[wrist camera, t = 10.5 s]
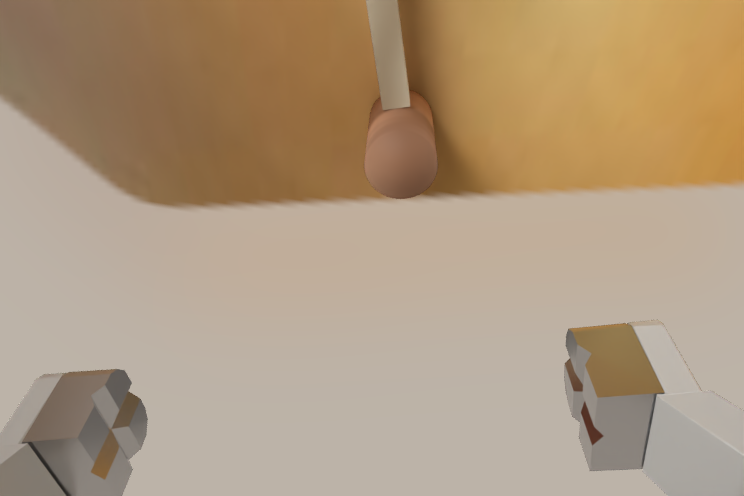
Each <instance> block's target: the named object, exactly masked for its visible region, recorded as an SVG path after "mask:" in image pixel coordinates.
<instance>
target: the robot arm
mask: <svg viewBox="0 0 744 496" xmlns="http://www.w3.org/2000/svg"><path fill="white" fill-rule="evenodd" d="M566 347H567V350H568V353H569V356H570V359H569V360H568V361H567V362H566V363H565V374H564V375H565V376H564V378H565V388H566V395H567V399H568V404H569V407H570V411H571V414H572V417H574V418H575V419H576V420H578V421H579V422H580V431H579V439H580V442H581V445H582V448H583V451H584V454H585V457H586V460H587V463H588V466H589V469H590V471H601V470H628V469H643V473H645V474H646V475H647V476H648V477H649V478H650V479H651V480H652V481H653V482H654V483H655V484H656V485H657V486H658V487H659V488H660V489H661V490H662V491H663V492H664V493H666V494H667V495H668V496H744V410H742V409H740V408H739V407H737V406H736V405H734V404H732V403H731V402H729V401H728V400H726V399H724V398H723V397H721V396H719V395H718V394H716V393H715V392H713V391H702V390H701V388H700V387H699V385H698V383H697V382H696V380H695V378H694V376H693V375H692V373H691V371H690V369H689V368H688V366H687V364H686V362H685V361H684V359H683V357H682V355H681V354H680V352H679V350H678V349H677V347H676V345H675V343H674V342H673V340H672V338H671V336H670V335H669V333H668V331H667V329H666V328H665V326H664V324H663V323H662V322H660V321H659V320H651V321H641V322H631V323H627V324H626V323H623V324H614V325H603V326H593V327H582V328H571V329H568V332H567V336H566ZM131 384H132V383H131V380H130V379H129V377H128V375H127V374H126V372H125V371H124V370H119V369H111V370H95V371H81V372H68V373H57V374H44V375H42V376H40V377H39V378H37V379H36V380H35V381H34V383H33V384H32V386H31V387H30V389H29V390H28V392H27V394H26V395H25V396H24V398H23V400H22V401H21V402H20V404H19V406H18V407H17V409H16V410H15V412H14V413H13V415H12V416H11V418H10V419H9V421H8V422H7V424H6V425H5V427H4V428H3V430H2V432H1V433H0V496H122V494H123V492H124V489H125V487H126V485H127V482H128V480H129V477H130V475H131V472H132V470H133V469H132V466H131V464H130V461H129V459H130V458H131V457H132V456H133V455H135V454H136V453H137V452H138V451H139V450H140V449H141V447H142V445H143V442H144V440H145V437H146V432H147V420H148V419H147V414H146V410H145V407H144V405H143V403H142V401H141V399H140V398H138V397H137V396H135V395H133V394H132V393H130V392H129V389H130V386H131Z"/></svg>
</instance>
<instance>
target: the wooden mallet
mask: <svg viewBox="0 0 744 496" xmlns="http://www.w3.org/2000/svg"><path fill="white" fill-rule="evenodd" d="M366 4H367V11H368V17H369V24H370V30H371V37H372V44H373V50H374V57H375V63H376V70H377V76H378V83H379V89H380V97H379V98H378V99H377V100H376V102H375V103H374V105H373V107H372V109H371V112H370V118H369V127H368V136H367V145H366V153H365V162H364V169H365V174H366V177H367V179H368V181H369V183H370V184H371V185H372V187H373V188H374V189H375V190H377V191H378V192H379V193H381V194H383V195H385V196H387V197H391V198H396V199H405V198H411V197H414V196H417V195H419V194H421V193H422V192H424V191H425V190H426V189H427V188H428V187H429V186H430V185H431V184H432V183H433V181H434V179H435V177H436V174H437V169H438V161H437V152H436V143H435V135H434V126H433V117H432V111H431V108H430V106H429V104H428V103H427V101H426V100H425V99H424V98H423V97H422V96H421V95H419V94H418V93H416V92H414V91H411V90H409V86H408V78H407V70H406V62H405V54H404V46H403V38H402V30H401V22H400V14H399V6H398V0H366Z"/></svg>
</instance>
